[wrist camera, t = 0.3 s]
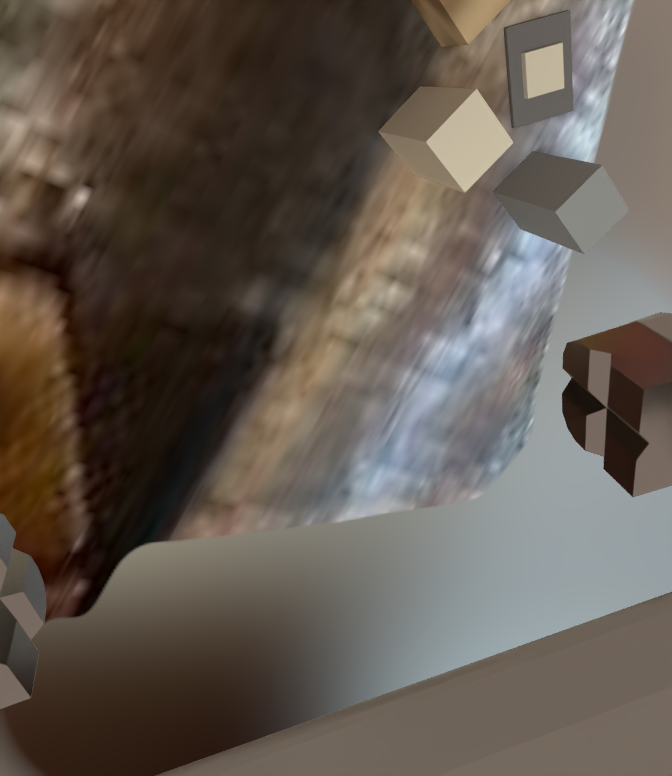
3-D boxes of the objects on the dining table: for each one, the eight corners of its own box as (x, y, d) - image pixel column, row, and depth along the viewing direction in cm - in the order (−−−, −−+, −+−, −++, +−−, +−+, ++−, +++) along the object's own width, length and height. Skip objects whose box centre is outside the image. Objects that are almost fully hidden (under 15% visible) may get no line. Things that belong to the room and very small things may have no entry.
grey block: (493, 191, 59) (555, 212, 51) (532, 151, 59) (602, 165, 50) (520, 228, 62) (584, 254, 53) (558, 190, 61) (629, 209, 52)
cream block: (377, 131, 54) (425, 142, 45) (420, 86, 53) (476, 88, 45) (413, 174, 56) (464, 192, 48) (453, 132, 56) (513, 142, 47)
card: (503, 28, 53) (509, 27, 52) (567, 10, 54) (574, 9, 53) (511, 128, 57) (517, 128, 56) (570, 110, 58) (577, 110, 57)
